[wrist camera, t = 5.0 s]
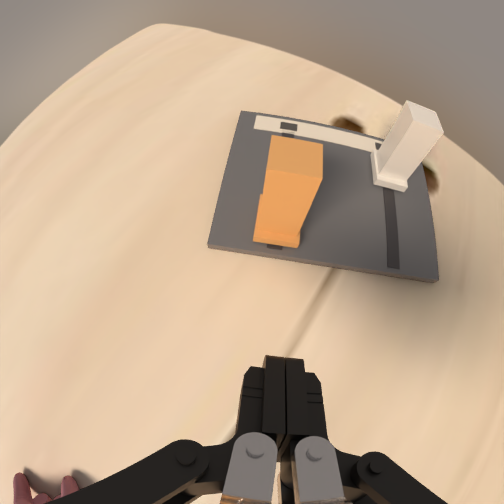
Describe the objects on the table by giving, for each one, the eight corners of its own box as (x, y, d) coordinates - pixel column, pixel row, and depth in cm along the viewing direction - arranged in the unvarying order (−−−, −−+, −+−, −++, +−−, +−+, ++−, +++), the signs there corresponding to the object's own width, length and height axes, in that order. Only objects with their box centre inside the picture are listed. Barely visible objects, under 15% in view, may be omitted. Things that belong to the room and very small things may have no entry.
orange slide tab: (300, 206, 27) (326, 137, 18) (297, 248, 26) (326, 188, 17) (259, 199, 27) (269, 127, 18) (252, 241, 26) (260, 177, 17)
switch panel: (415, 155, 33) (419, 149, 32) (433, 282, 27) (439, 279, 25) (240, 116, 33) (241, 109, 32) (208, 248, 27) (207, 243, 26)
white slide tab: (399, 162, 31) (435, 108, 21) (404, 192, 29) (447, 138, 20) (370, 154, 31) (402, 95, 22) (373, 184, 29) (412, 124, 20)
